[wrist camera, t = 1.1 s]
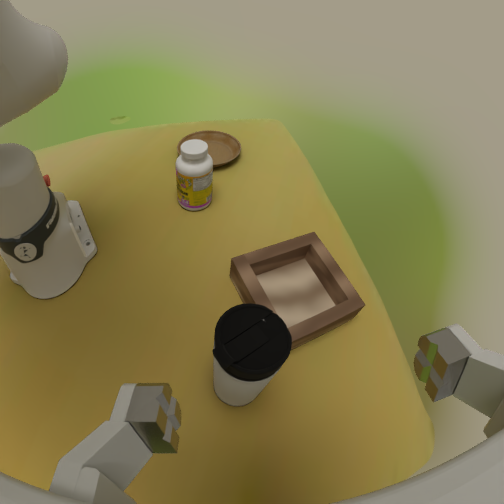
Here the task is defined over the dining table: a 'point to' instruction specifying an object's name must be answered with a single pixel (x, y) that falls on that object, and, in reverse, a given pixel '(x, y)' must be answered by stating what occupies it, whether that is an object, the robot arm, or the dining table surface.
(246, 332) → the travel mug
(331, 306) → the square wooden tray
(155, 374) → the dining table surface
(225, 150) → the plant saucer
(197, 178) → the supplement bottle
